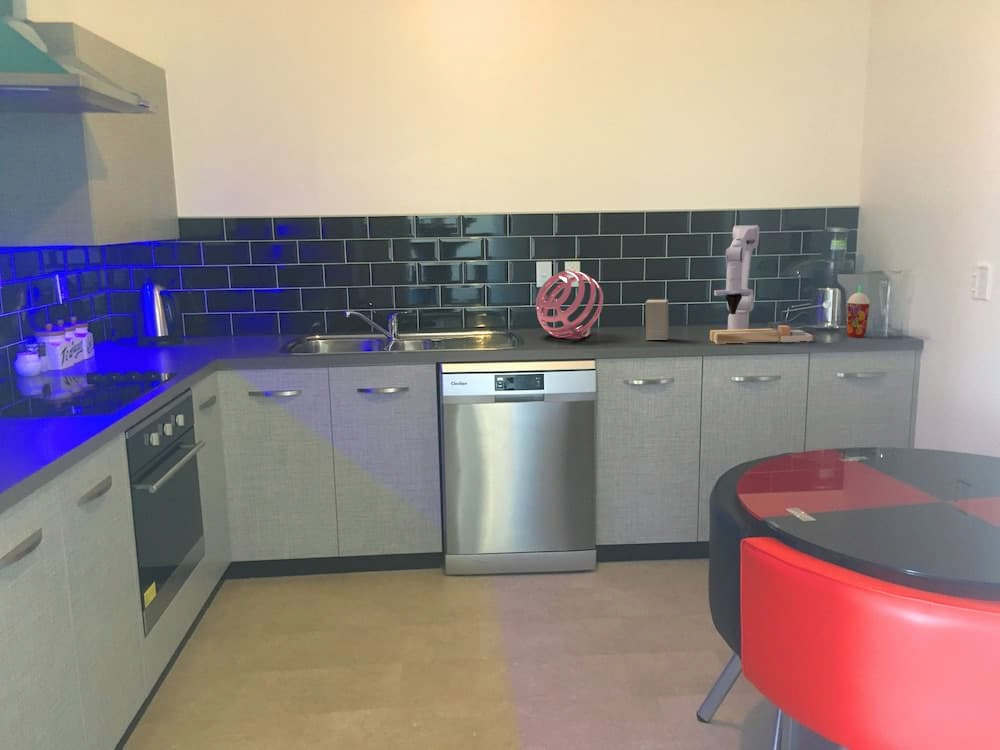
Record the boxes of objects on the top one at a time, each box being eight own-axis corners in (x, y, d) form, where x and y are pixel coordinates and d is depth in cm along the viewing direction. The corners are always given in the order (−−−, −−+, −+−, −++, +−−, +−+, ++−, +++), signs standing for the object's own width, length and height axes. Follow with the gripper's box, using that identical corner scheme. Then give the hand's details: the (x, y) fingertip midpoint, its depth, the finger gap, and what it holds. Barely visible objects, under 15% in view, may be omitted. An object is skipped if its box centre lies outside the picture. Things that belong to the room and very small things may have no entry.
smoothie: (868, 335, 331) (871, 284, 327) (867, 338, 324) (871, 287, 320) (845, 334, 335) (848, 284, 331) (844, 337, 327) (847, 286, 323)
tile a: (777, 325, 325) (785, 325, 325) (777, 338, 326) (784, 337, 326) (782, 327, 320) (790, 327, 320) (782, 340, 321) (789, 340, 321)
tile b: (800, 329, 326) (799, 337, 327) (787, 330, 326) (787, 337, 326) (805, 331, 321) (804, 339, 322) (792, 332, 321) (791, 340, 322)
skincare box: (668, 338, 332) (669, 299, 329) (666, 342, 325) (667, 301, 322) (647, 338, 335) (648, 298, 331) (644, 341, 328) (645, 300, 325)
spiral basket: (585, 282, 358) (550, 250, 339) (630, 304, 338) (595, 270, 319) (548, 336, 358) (511, 307, 339) (590, 361, 338) (553, 331, 319)
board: (709, 340, 327) (710, 330, 326) (770, 338, 328) (770, 328, 328) (717, 344, 318) (717, 333, 318) (778, 342, 320) (779, 332, 319)
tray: (769, 338, 329) (770, 331, 329) (800, 337, 330) (801, 330, 330) (780, 342, 319) (781, 336, 318) (812, 342, 319) (813, 335, 319)
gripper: (718, 280, 316) (717, 315, 319) (756, 279, 317) (754, 314, 320) (713, 278, 323) (711, 313, 326) (750, 277, 324) (748, 312, 327)
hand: (732, 313), depth 323 cm, fingers closed
